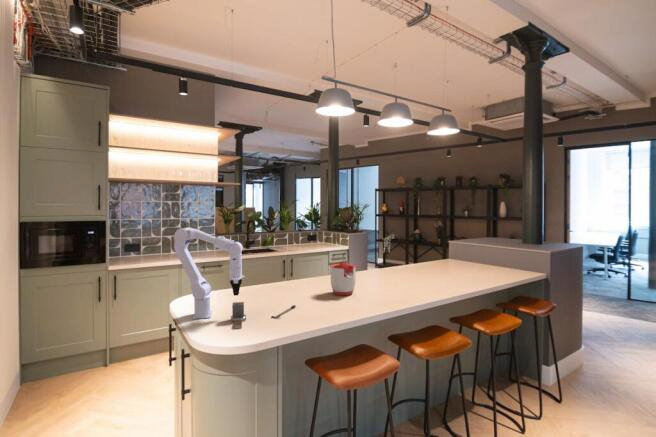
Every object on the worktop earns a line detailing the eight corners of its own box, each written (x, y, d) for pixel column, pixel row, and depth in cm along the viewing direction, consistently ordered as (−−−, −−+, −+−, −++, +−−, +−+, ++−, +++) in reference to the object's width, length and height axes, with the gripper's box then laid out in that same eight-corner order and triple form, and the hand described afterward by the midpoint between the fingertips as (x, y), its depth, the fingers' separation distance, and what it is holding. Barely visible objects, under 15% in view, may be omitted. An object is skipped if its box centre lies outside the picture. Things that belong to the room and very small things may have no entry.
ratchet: (230, 318, 173) (230, 308, 172) (245, 317, 174) (245, 307, 174) (230, 329, 158) (229, 318, 157) (246, 328, 159) (246, 317, 159)
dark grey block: (232, 315, 172) (232, 302, 172) (243, 314, 173) (243, 301, 173) (232, 318, 167) (232, 305, 167) (243, 317, 168) (243, 304, 168)
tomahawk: (282, 322, 171) (282, 319, 170) (270, 318, 173) (270, 316, 173) (303, 309, 190) (303, 307, 189) (292, 306, 192) (292, 304, 192)
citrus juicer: (338, 298, 209) (338, 264, 208) (326, 291, 224) (326, 259, 224) (362, 295, 215) (362, 262, 214) (348, 289, 231) (348, 258, 230)
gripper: (244, 269, 168) (244, 298, 169) (244, 264, 183) (244, 291, 183) (228, 270, 167) (229, 299, 167) (229, 264, 181) (230, 291, 181)
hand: (236, 295), depth 175 cm, fingers closed
